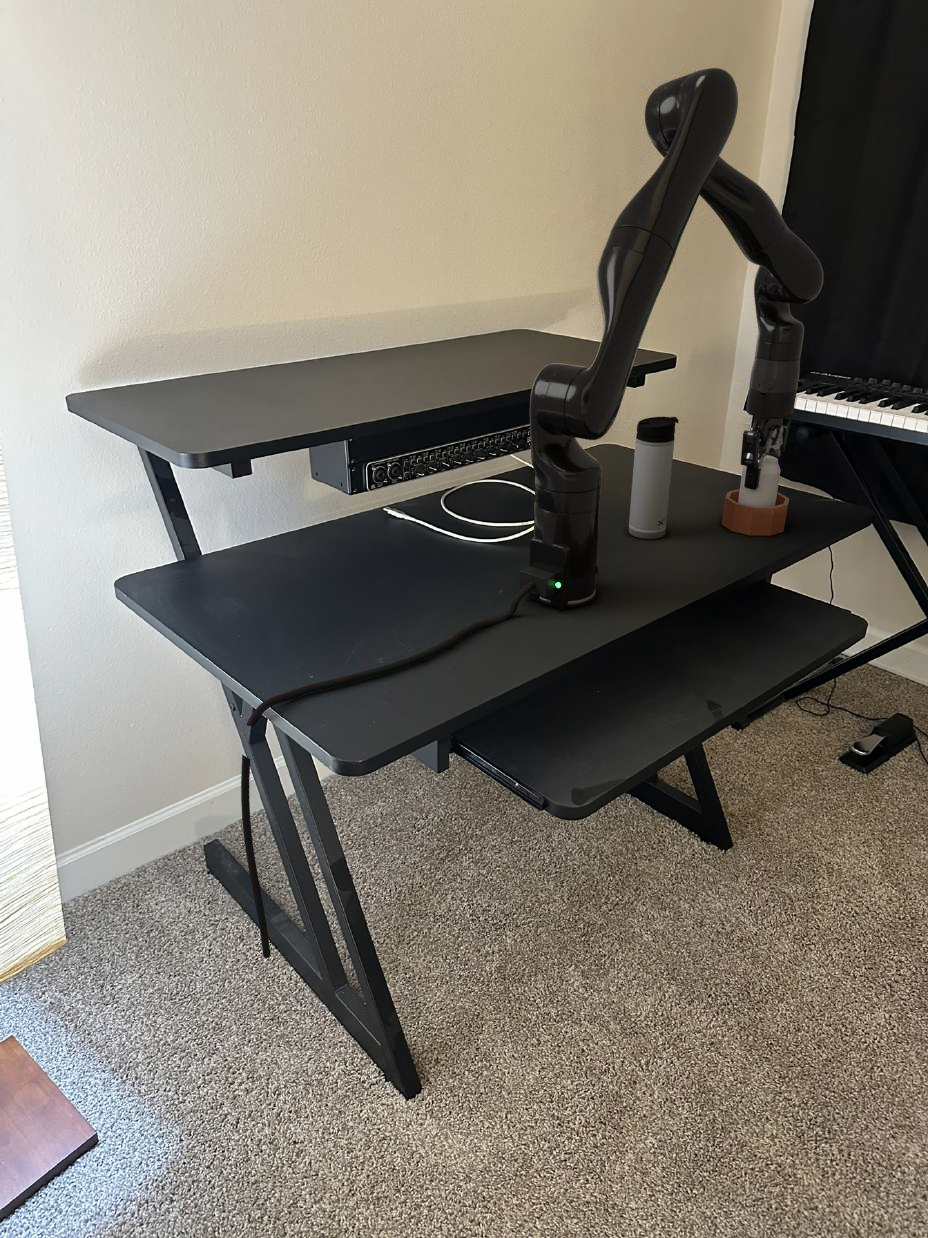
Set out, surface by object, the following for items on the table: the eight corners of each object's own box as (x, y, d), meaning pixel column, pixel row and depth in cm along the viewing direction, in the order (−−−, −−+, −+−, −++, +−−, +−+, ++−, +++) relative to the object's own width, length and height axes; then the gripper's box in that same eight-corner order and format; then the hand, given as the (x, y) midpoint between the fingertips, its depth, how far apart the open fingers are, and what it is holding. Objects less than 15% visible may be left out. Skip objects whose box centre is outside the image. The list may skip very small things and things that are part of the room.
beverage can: (746, 516, 162) (755, 451, 156) (778, 524, 158) (788, 458, 152) (728, 524, 158) (737, 458, 153) (760, 533, 154) (770, 466, 149)
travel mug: (670, 539, 152) (682, 422, 143) (631, 539, 152) (640, 422, 143) (663, 526, 158) (674, 413, 149) (626, 526, 158) (634, 413, 149)
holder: (771, 540, 151) (775, 512, 149) (711, 526, 158) (714, 499, 155) (795, 523, 158) (799, 496, 156) (737, 510, 165) (740, 484, 162)
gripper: (769, 375, 154) (756, 469, 162) (732, 389, 144) (720, 489, 152) (812, 380, 150) (797, 477, 157) (777, 396, 140) (762, 498, 147)
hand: (759, 483), depth 154 cm, fingers closed on beverage can, 6 cm apart
